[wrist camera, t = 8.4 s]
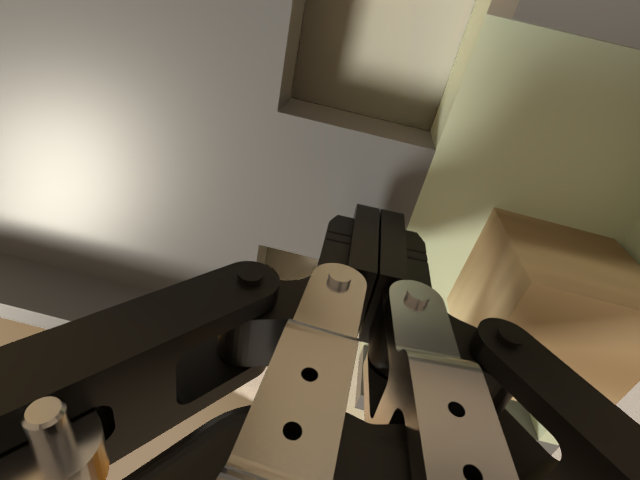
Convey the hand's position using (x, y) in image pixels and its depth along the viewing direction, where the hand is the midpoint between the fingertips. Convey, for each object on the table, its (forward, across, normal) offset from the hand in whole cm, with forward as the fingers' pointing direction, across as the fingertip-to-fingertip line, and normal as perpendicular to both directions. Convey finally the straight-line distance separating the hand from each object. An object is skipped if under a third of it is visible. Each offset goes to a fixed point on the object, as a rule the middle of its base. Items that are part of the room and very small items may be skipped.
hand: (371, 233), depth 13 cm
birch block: (+1, -6, +1) cm, 6 cm away
